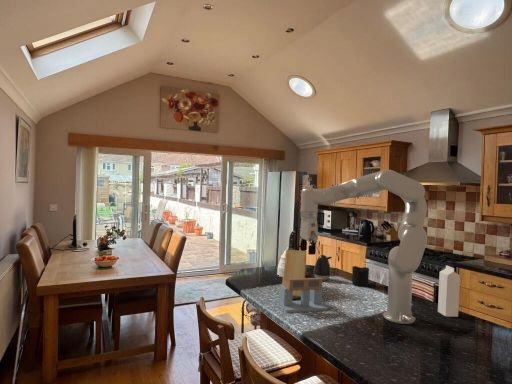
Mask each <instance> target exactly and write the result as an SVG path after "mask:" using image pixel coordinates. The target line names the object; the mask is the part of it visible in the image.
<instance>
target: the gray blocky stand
mask: <svg viewBox="0 0 512 384" xmlns="http://www.w3.org/2000/svg"><path fill="white" fill-rule="evenodd" d="M279 294H280V295H279V301H278V305H279V306H280V307H281V309H282V310H284V311H285V313H286V314H287V313H288V314H289V313H301V312H302V313H304V312H321V311H328V309H329V307H328V306H326V305H325V304H324V303H323V288H322V289H321V290H301V300H294V299H293V291H289V290H288V289H287V288H286V287H285V286H283V285H282V284H281V285H280V292H279Z"/></svg>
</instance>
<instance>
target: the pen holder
mask: <svg viewBox="0 0 512 384" xmlns="http://www.w3.org/2000/svg"><path fill="white" fill-rule="evenodd" d="M351 268H352V270H351V273H352V274H351V276H352V277H351V280H352V281H351V282H352V283H351V284H352V285H354V286H355V287H361V288H366V287H368V285H369V275H370V268H369V267H367V266H363V267H360V266H357V265H353V266H352V267H351Z"/></svg>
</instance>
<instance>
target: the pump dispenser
mask: <svg viewBox="0 0 512 384" xmlns="http://www.w3.org/2000/svg"><path fill="white" fill-rule="evenodd" d="M332 257H333V256H327V255H325V254H321V255H319V256H318V257H317V260H316V261H315V263H314V268H313V269H314V270H313V274H314V278H322V282H325V281H328V280H329V279H330V276H331V275H332V270H331V264H330V261H329V260H331V259H332Z"/></svg>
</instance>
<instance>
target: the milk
mask: <svg viewBox="0 0 512 384" xmlns="http://www.w3.org/2000/svg"><path fill="white" fill-rule="evenodd" d="M438 277H439V278H438V302H437V303H438V304H437V313H439V314H441V315H443V316H444V317H451V318H452V317H454V318H455V317H457V318H458V317H459V305H460V288H461V287H460V286H461V285H460V284H461V282H460V281H461V275H460V274H458V273H457V272H456V271H455V267H452V266H450V265H445V268H443V269H441V271H439V276H438Z"/></svg>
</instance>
